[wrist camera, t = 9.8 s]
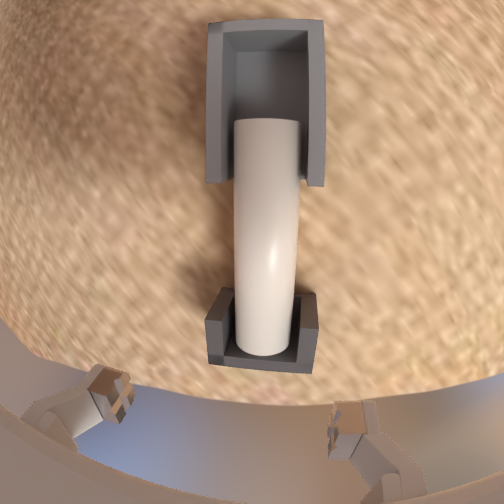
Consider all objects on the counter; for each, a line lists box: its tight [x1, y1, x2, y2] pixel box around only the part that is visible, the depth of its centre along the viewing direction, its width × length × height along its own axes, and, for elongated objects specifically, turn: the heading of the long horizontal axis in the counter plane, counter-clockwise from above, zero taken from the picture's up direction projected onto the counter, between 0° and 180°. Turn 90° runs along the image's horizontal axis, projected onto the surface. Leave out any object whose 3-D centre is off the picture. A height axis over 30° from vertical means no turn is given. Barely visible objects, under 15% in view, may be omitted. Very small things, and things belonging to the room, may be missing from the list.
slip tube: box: [234, 118, 301, 356], centre depth 19 cm, size 15×4×4 cm, turn 0°
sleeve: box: [206, 19, 326, 187], centre depth 17 cm, size 10×7×5 cm, turn 0°
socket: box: [205, 288, 319, 374], centre depth 22 cm, size 4×8×5 cm, turn 89°
